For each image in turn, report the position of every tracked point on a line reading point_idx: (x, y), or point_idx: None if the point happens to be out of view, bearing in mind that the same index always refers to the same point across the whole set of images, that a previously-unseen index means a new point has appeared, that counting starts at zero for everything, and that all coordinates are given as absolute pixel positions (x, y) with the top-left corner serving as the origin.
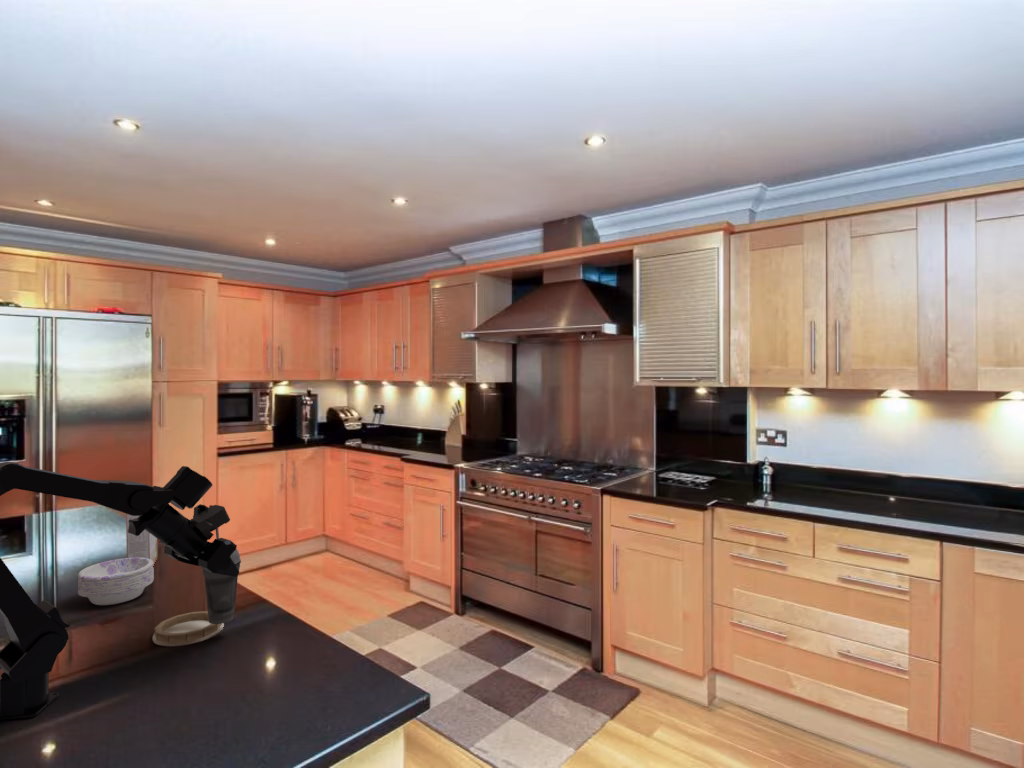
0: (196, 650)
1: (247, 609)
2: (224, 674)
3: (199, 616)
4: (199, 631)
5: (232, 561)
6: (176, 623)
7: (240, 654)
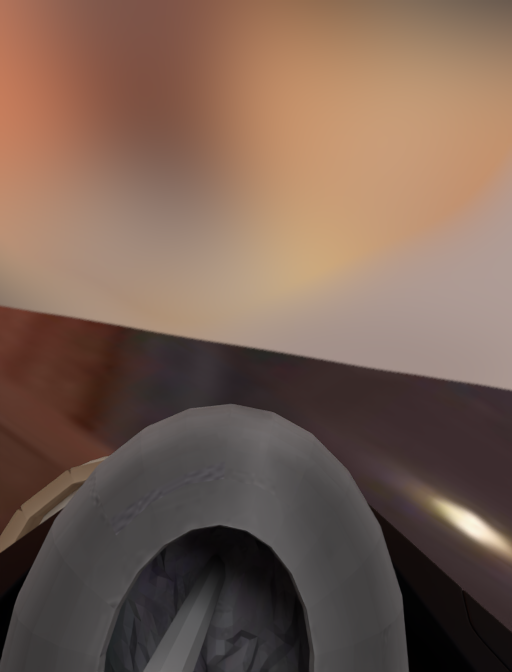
0: None
1: (132, 370)
2: None
3: (62, 496)
4: None
5: (483, 611)
6: None
7: None
